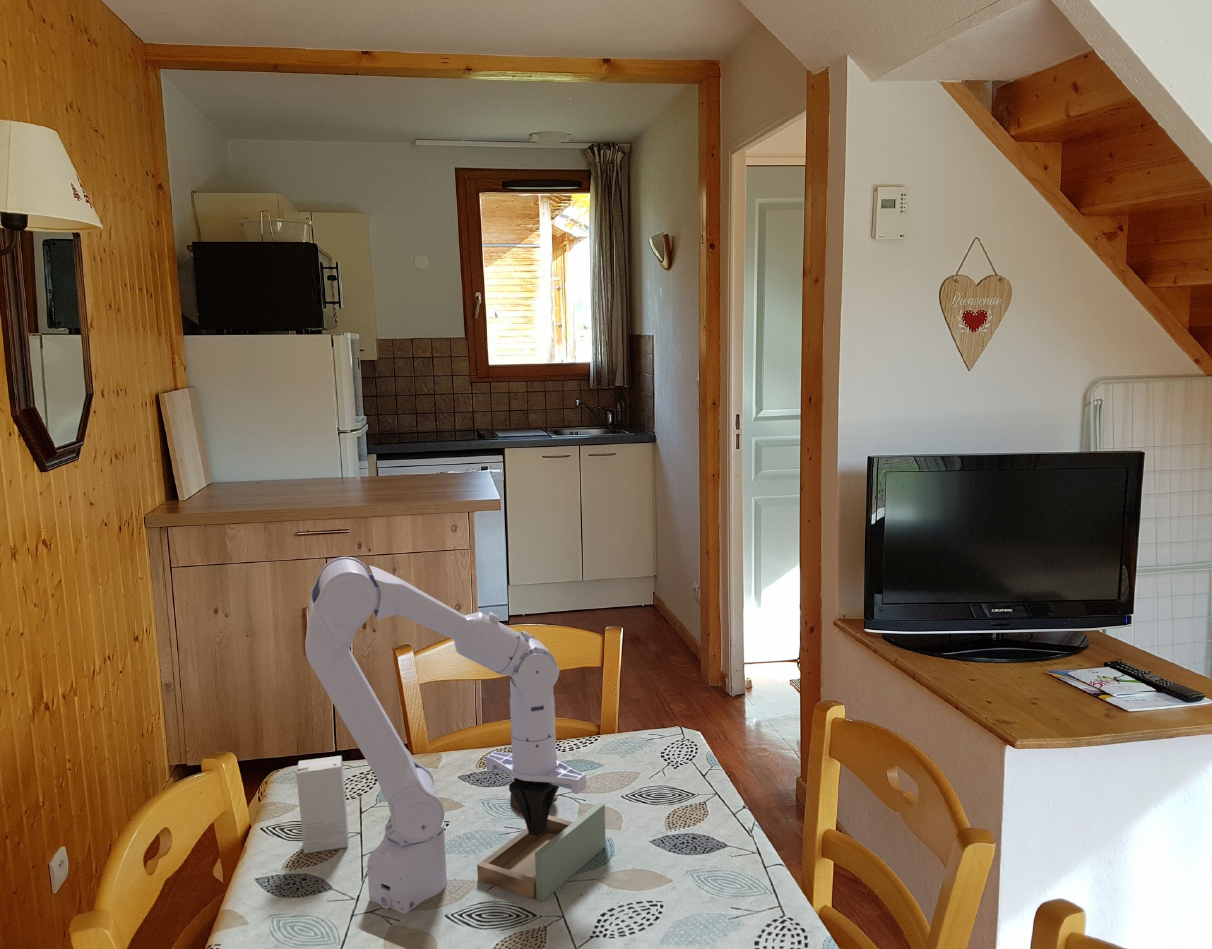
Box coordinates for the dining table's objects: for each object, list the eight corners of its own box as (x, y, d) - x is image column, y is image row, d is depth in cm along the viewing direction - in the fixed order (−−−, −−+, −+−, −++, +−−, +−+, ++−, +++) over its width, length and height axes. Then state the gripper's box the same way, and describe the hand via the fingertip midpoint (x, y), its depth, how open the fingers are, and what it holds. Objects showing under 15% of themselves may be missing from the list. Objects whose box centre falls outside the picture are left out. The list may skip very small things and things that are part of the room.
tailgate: (536, 898, 115) (534, 852, 115) (599, 844, 128) (598, 802, 127) (543, 901, 115) (541, 854, 114) (605, 846, 127) (604, 804, 126)
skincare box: (349, 833, 135) (343, 753, 134) (348, 849, 131) (343, 766, 129) (304, 840, 134) (298, 758, 132) (302, 856, 129) (295, 772, 128)
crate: (478, 890, 120) (477, 865, 120) (545, 837, 133) (545, 814, 132) (534, 910, 116) (533, 883, 115) (598, 853, 128) (597, 829, 128)
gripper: (597, 731, 121) (600, 831, 123) (507, 712, 129) (511, 806, 131) (567, 752, 116) (570, 856, 117) (474, 730, 123) (479, 828, 125)
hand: (537, 831), depth 124 cm, fingers closed
